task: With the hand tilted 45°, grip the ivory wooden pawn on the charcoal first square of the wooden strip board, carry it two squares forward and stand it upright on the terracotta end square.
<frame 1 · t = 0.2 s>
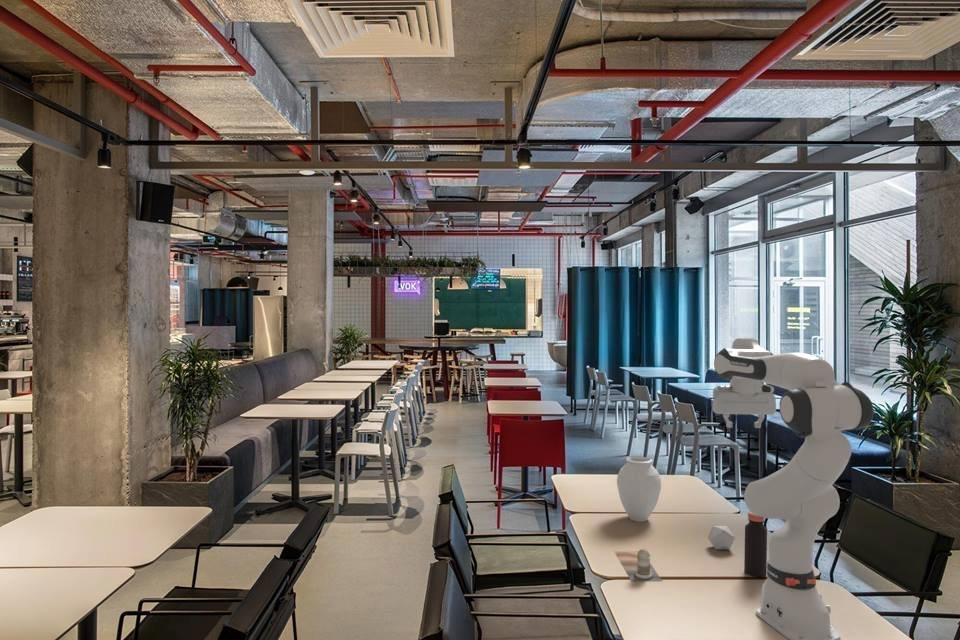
hand: (743, 427, 207), 48 cm above the table, tool pointing down, fingers open, 8 cm apart
die: (721, 548, 226), on the table
game board: (637, 566, 210), on the table
bottle: (755, 573, 205), on the table
pawn: (643, 575, 202), resting on game board
vase: (638, 519, 257), on the table
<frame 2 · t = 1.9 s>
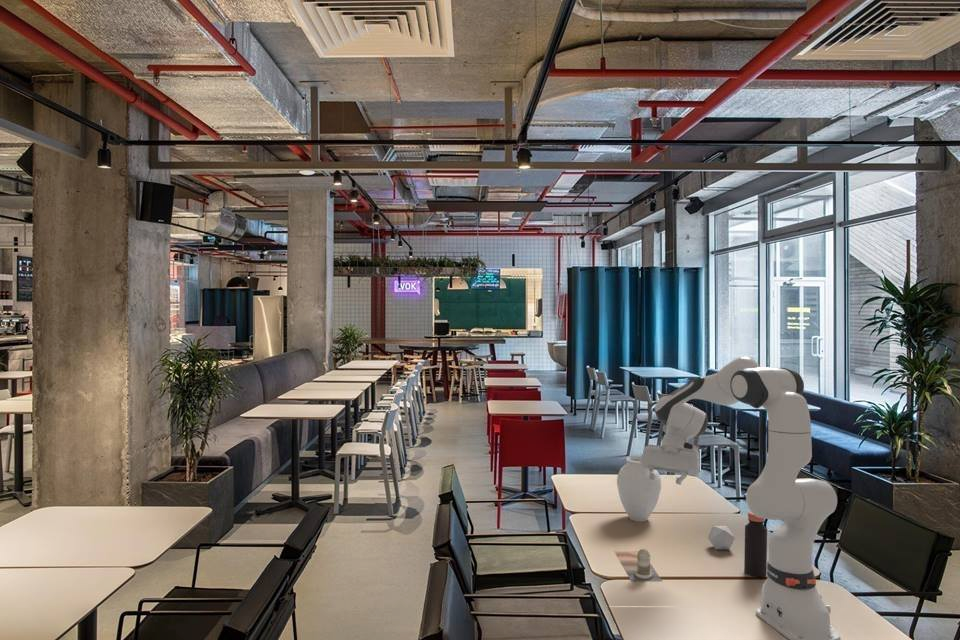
hand: (664, 481, 215), 28 cm above the table, tool tilted 45°, fingers open, 8 cm apart
nothing on the table moved.
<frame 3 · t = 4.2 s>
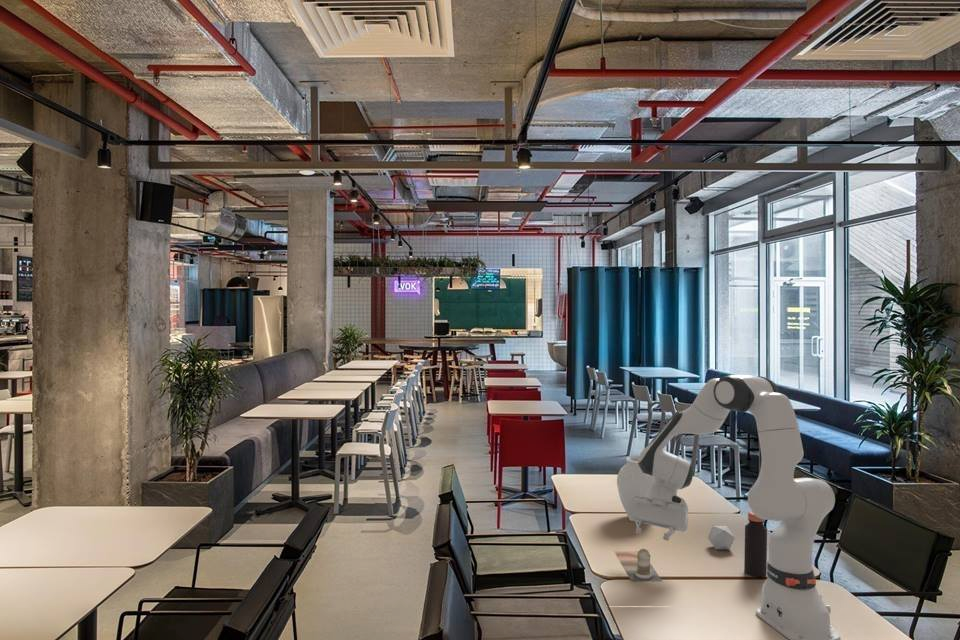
hand: (651, 536, 207), 11 cm above the table, tool tilted 45°, fingers open, 8 cm apart
nothing on the table moved.
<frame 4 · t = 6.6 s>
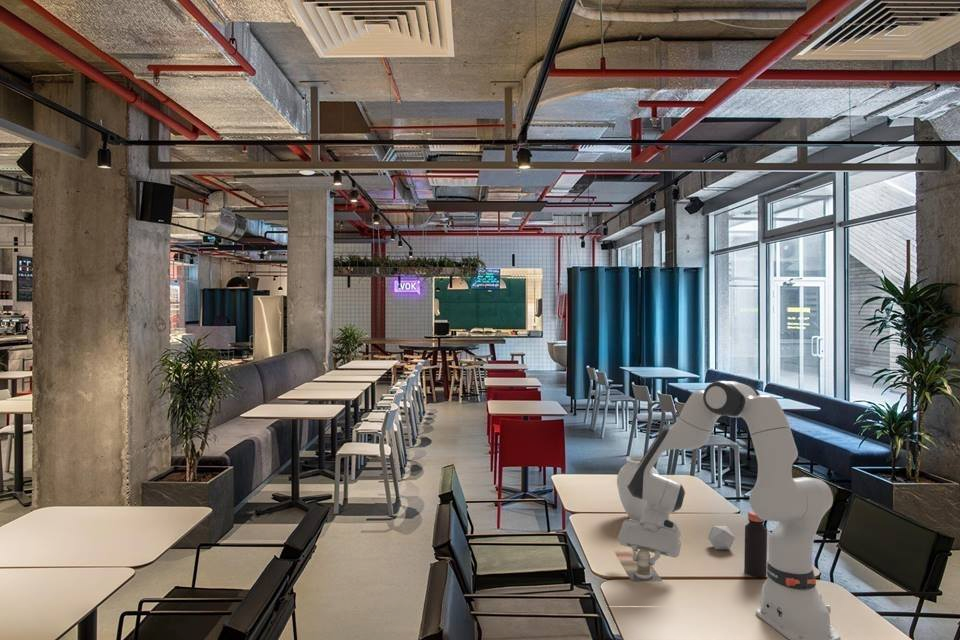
hand: (643, 562, 201), 5 cm above the table, tool tilted 45°, fingers closed on pawn, 4 cm apart
pawn: (643, 575, 202), resting on game board, touching gripper
everything else where it was.
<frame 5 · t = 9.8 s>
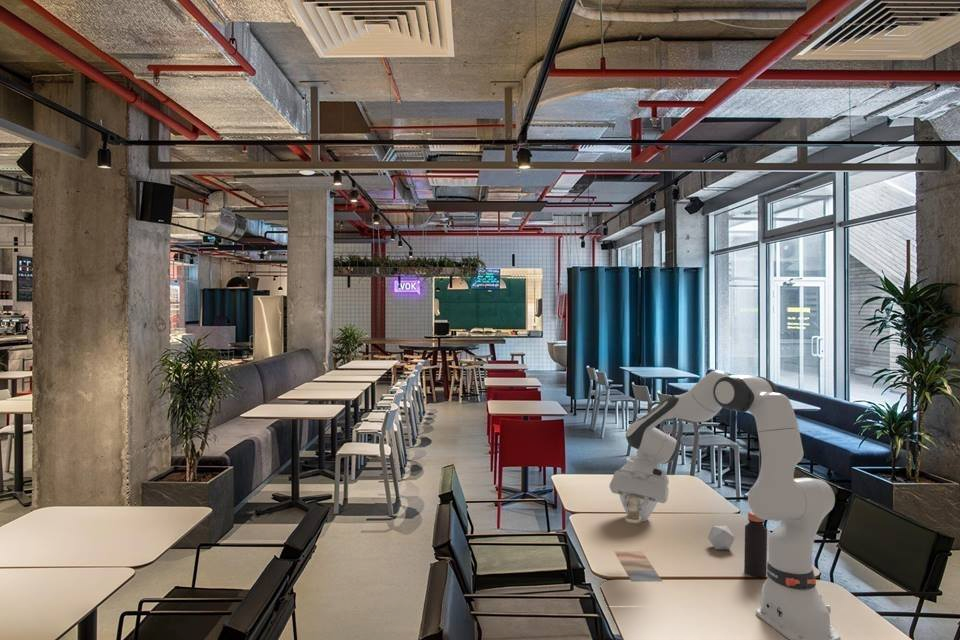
hand: (632, 507, 213), 19 cm above the table, tool tilted 45°, fingers closed on pawn, 4 cm apart
pawn: (633, 520, 214), point 14 cm above the table, touching gripper
everything else where it was.
when the fingers open (6 cm above the table, at t = 12.8 s): pawn drops 1 cm, resting on game board.
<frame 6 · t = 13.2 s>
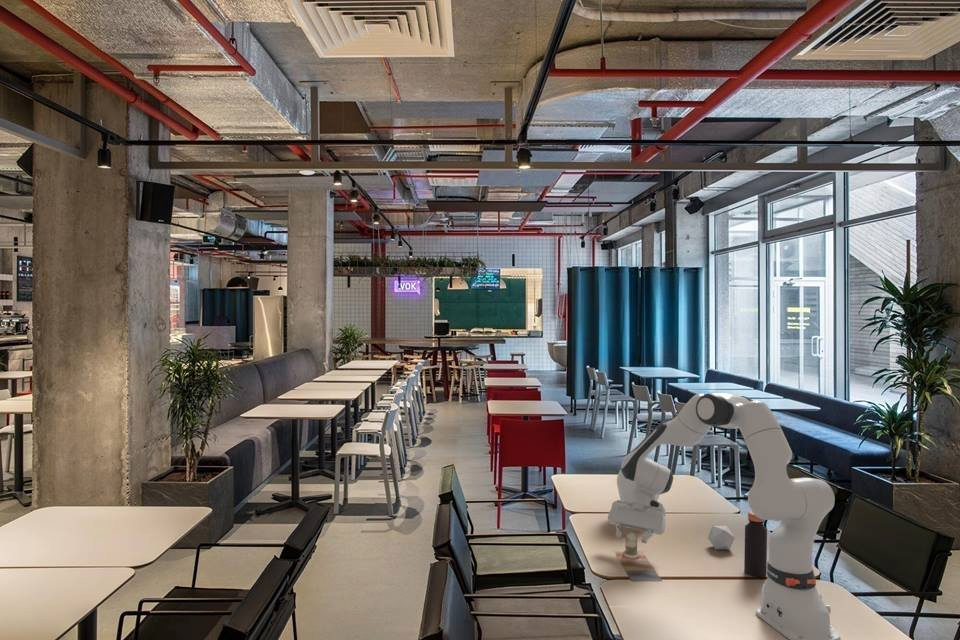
hand: (630, 539, 217), 6 cm above the table, tool tilted 45°, fingers open, 8 cm apart
pawn: (631, 555, 218), resting on game board
everything else where it was.
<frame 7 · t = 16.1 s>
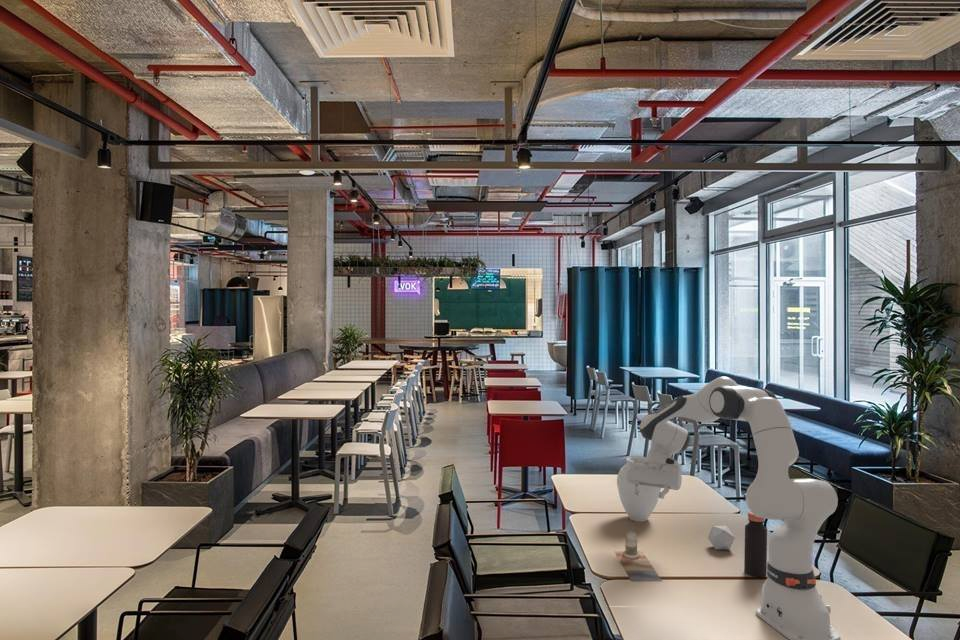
hand: (648, 495, 227), 19 cm above the table, tool tilted 45°, fingers open, 8 cm apart
nothing on the table moved.
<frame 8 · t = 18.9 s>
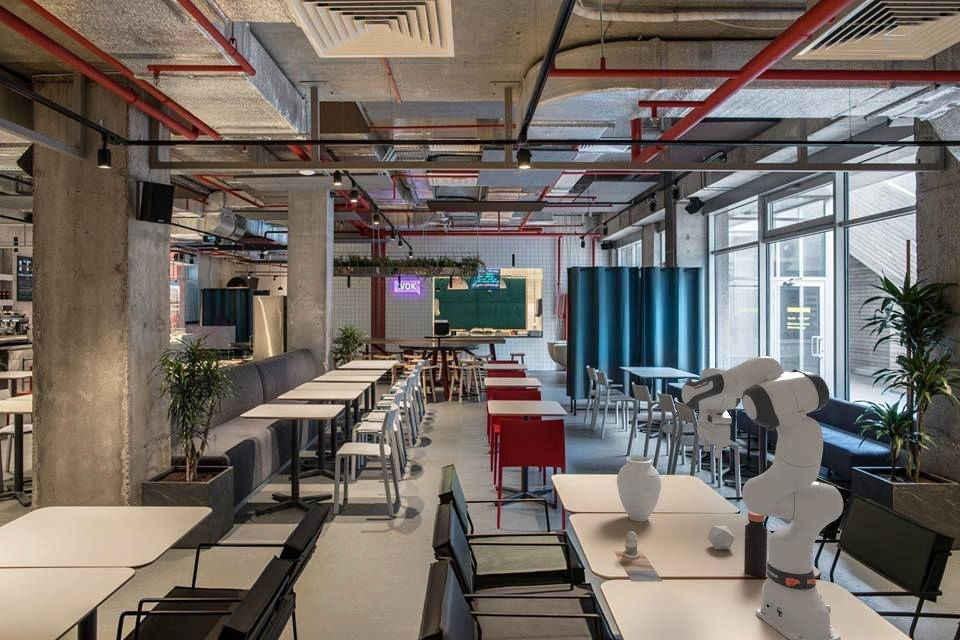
hand: (712, 454, 214), 37 cm above the table, tool pointing down, fingers open, 8 cm apart
nothing on the table moved.
at the end: pawn inside the target area on the game board (0.1 cm from its centre), point 0.3 cm above the game board's base; pawn tilted 0°; the gripper is holding nothing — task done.
